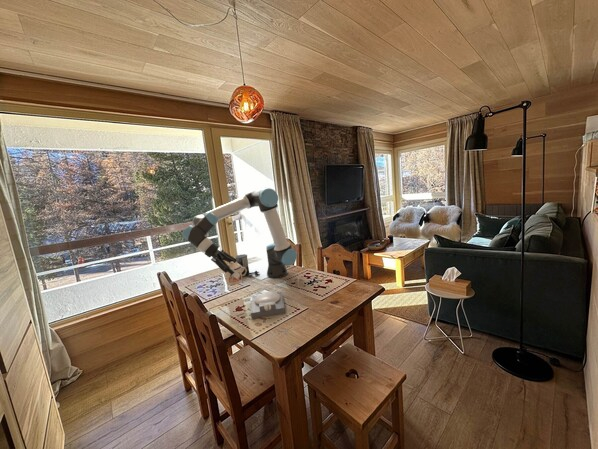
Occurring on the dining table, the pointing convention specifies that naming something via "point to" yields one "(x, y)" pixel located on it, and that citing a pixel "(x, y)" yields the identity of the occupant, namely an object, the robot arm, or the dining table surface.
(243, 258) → the milk frother
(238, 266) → the teacup with lid
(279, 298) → the kitchen scale
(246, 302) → the dining table surface
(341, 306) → the dining table surface
